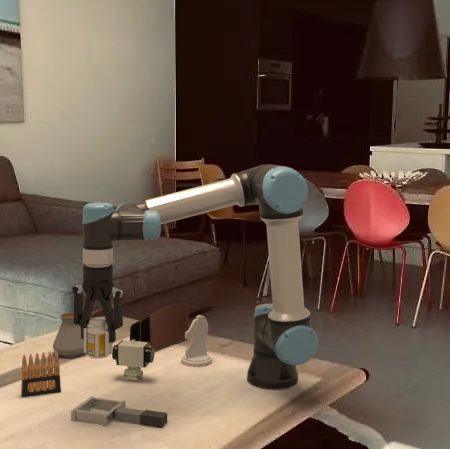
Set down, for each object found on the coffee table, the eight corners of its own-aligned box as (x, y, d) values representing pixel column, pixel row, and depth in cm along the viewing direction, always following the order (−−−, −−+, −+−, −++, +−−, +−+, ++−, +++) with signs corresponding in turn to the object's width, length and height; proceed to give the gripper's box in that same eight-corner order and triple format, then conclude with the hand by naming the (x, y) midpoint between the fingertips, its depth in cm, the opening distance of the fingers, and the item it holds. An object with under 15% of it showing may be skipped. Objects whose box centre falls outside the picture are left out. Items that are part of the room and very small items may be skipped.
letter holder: (189, 339, 263) (189, 300, 261) (151, 353, 247) (151, 312, 245) (167, 334, 269) (167, 296, 267) (128, 348, 253) (128, 307, 251)
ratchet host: (172, 417, 196) (172, 407, 195) (156, 433, 185) (156, 423, 185) (91, 405, 203) (91, 395, 202) (71, 420, 192) (71, 410, 192)
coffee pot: (60, 361, 237) (60, 315, 235) (47, 351, 247) (46, 307, 245) (122, 350, 249) (121, 306, 247) (107, 341, 259) (106, 299, 257)
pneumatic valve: (150, 383, 219) (150, 343, 218) (111, 380, 222) (111, 340, 220) (155, 377, 225) (155, 338, 223) (118, 373, 227) (118, 335, 225)
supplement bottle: (110, 352, 196) (110, 316, 195) (107, 359, 191) (107, 322, 190) (89, 352, 196) (89, 316, 195) (86, 359, 191) (85, 321, 190)
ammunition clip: (22, 397, 207) (21, 355, 205) (21, 395, 209) (20, 353, 207) (61, 392, 212) (60, 351, 210) (59, 390, 213) (59, 349, 212)
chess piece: (175, 360, 241) (175, 314, 239) (201, 355, 246) (202, 310, 244) (190, 369, 233) (191, 321, 230) (217, 363, 238) (218, 317, 236)
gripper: (137, 264, 191) (137, 352, 194) (73, 258, 197) (73, 344, 200) (124, 270, 184) (124, 361, 187) (58, 263, 190) (59, 353, 193)
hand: (98, 352), depth 194 cm, fingers closed on supplement bottle, 5 cm apart
